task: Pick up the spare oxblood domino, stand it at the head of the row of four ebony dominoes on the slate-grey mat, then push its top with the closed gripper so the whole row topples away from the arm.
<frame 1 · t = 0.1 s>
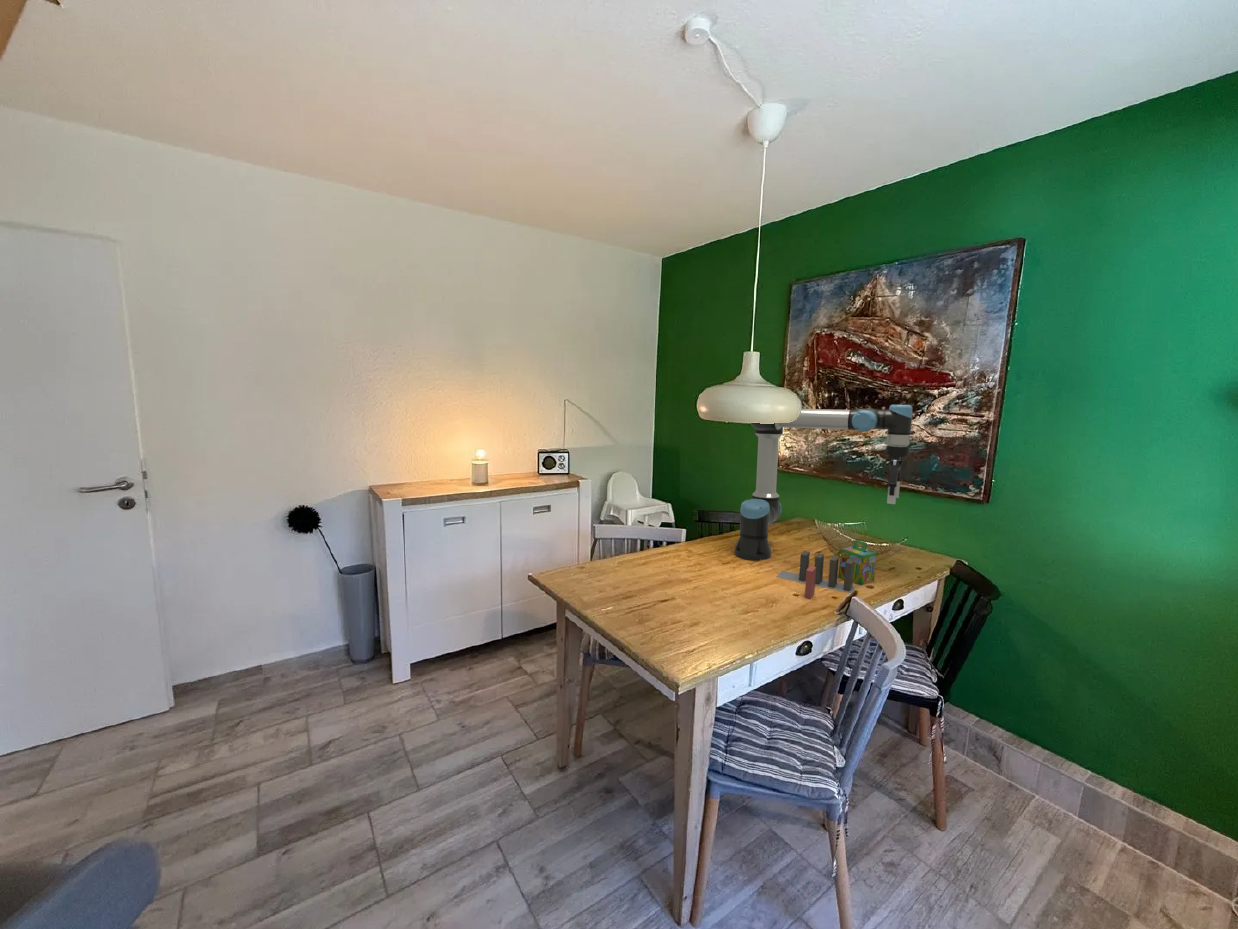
hand: (892, 500, 182), 28 cm above the table, fingers open, 13 cm apart
domino 3: (817, 582, 172), resting on mat
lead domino: (809, 596, 160), on the table
chalk box: (856, 580, 176), on the table
domino 4: (832, 585, 169), resting on mat
domino 5: (847, 588, 167), resting on mat
domino 2: (803, 578, 175), resting on mat
mat: (814, 582, 173), on the table
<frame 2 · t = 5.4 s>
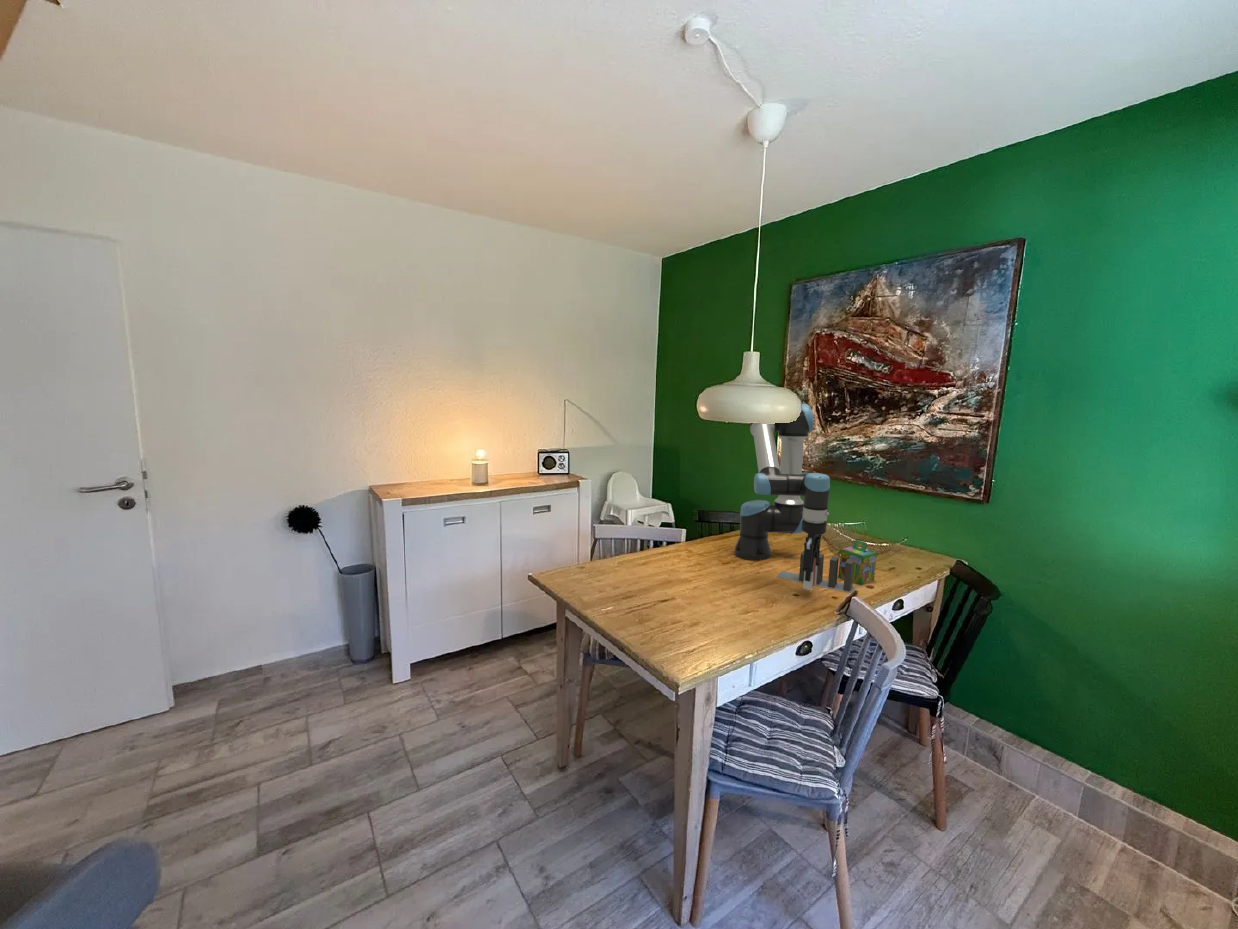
hand: (809, 586, 160), 4 cm above the table, fingers closed on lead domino, 5 cm apart
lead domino: (809, 587, 161), point 3 cm above the table, touching gripper
everything else where it was.
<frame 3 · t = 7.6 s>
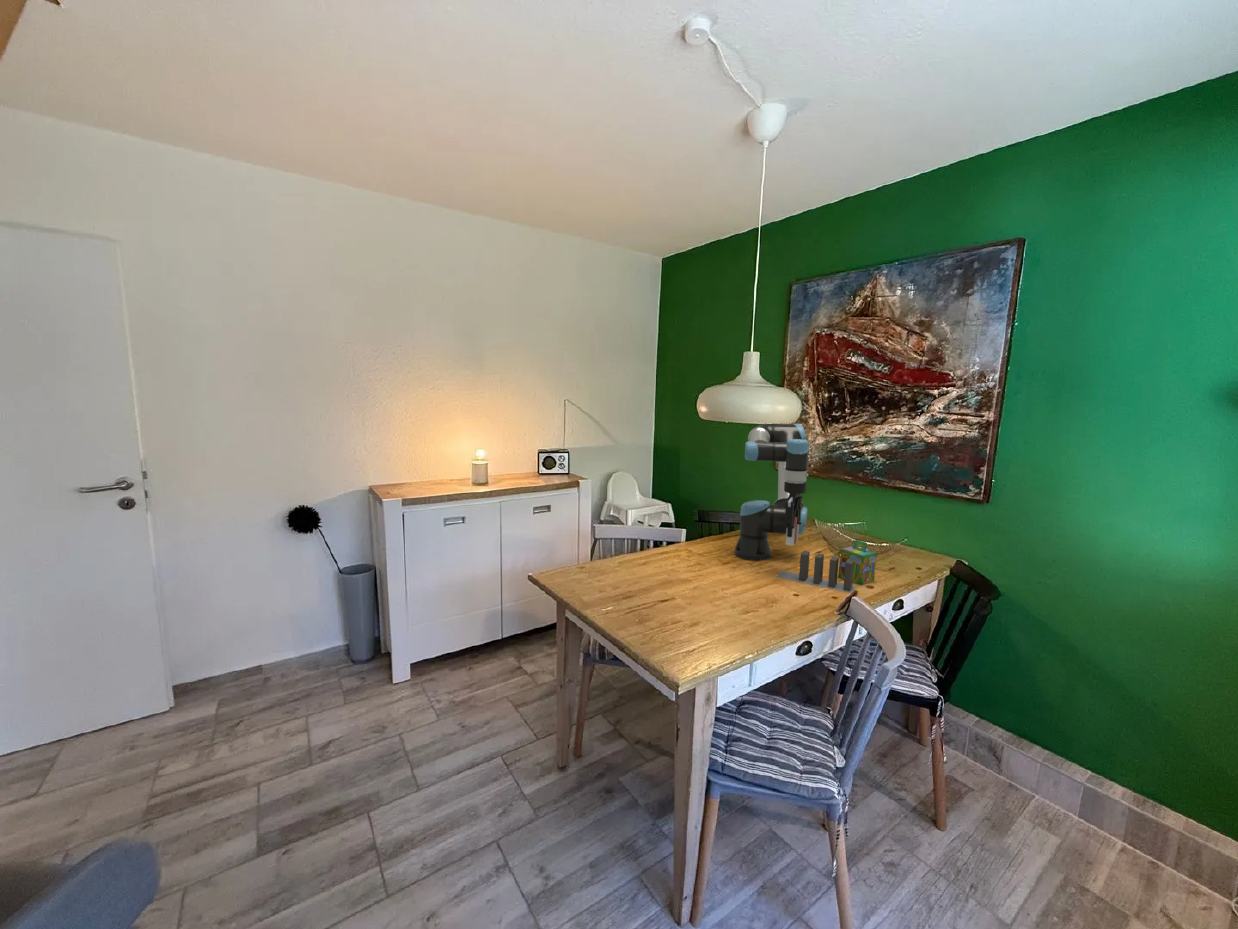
hand: (791, 543, 176), 13 cm above the table, fingers closed on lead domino, 5 cm apart
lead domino: (791, 543, 176), point 13 cm above the table, touching gripper
everything else where it was.
when the fingers open (1 cm above the table, at t = 10.0 s): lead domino stays where it is, resting on mat.
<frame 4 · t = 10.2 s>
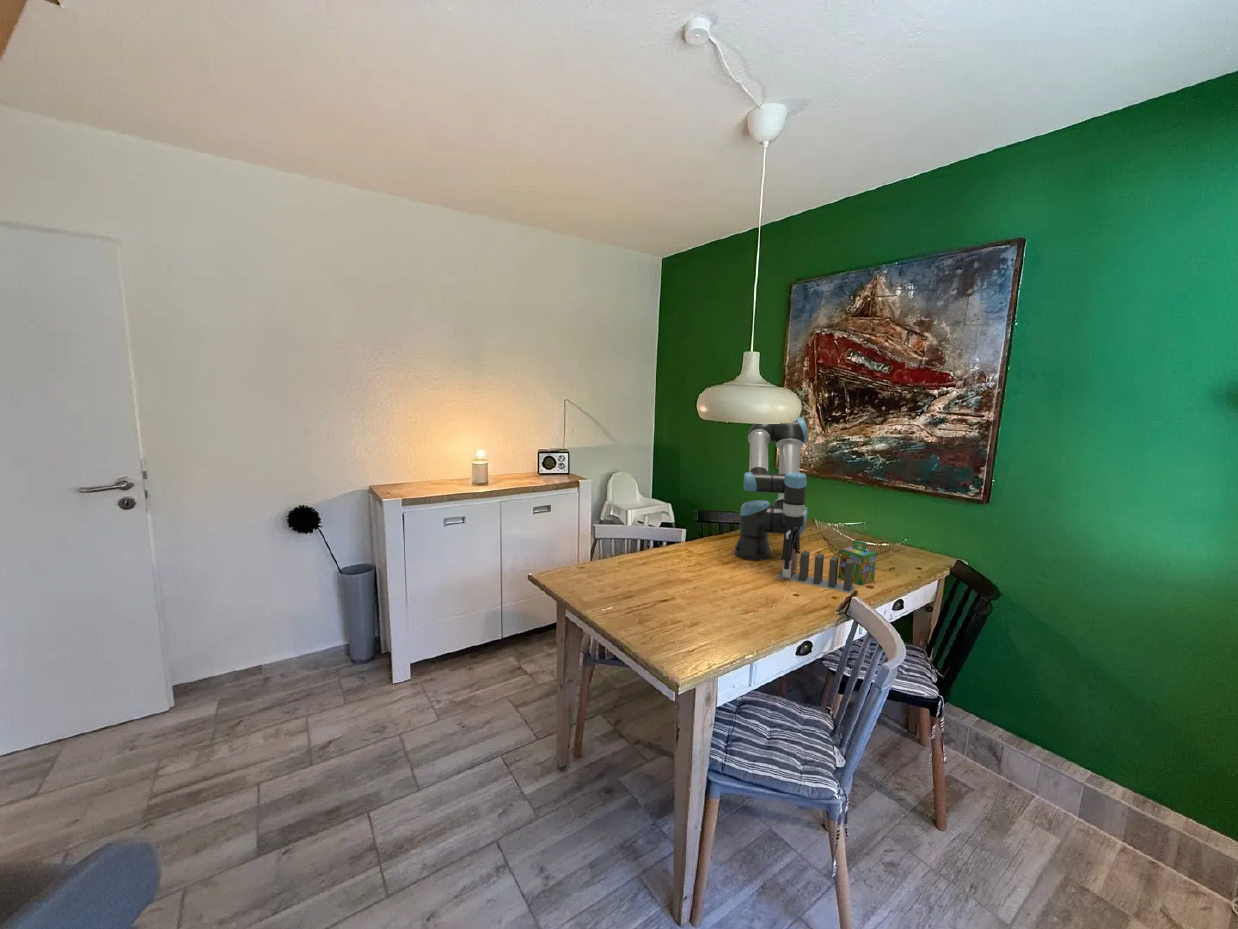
hand: (789, 573, 178), 1 cm above the table, fingers open, 8 cm apart
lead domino: (789, 575, 178), resting on mat
everything else where it was.
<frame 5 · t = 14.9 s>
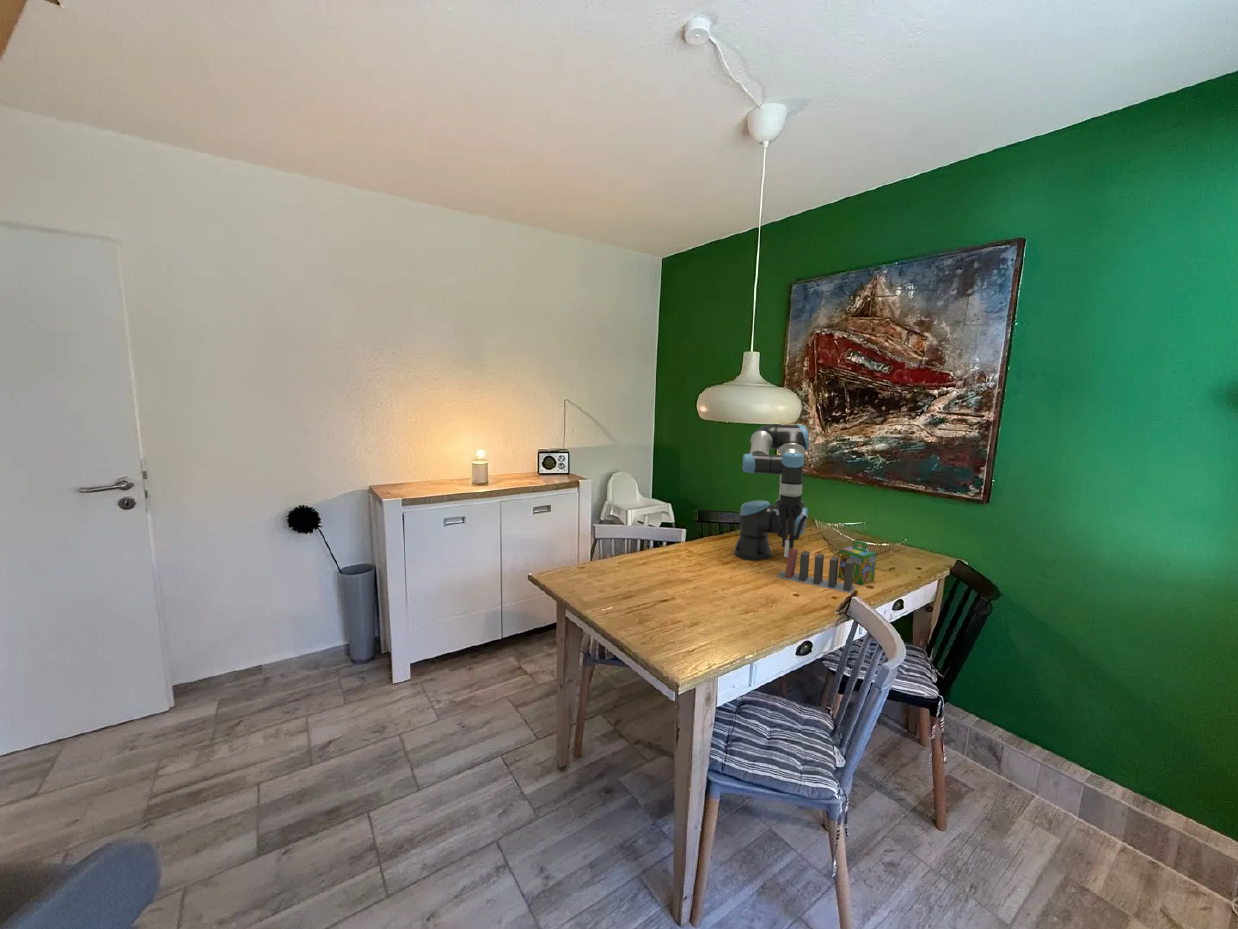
hand: (787, 556, 177), 8 cm above the table, fingers closed
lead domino: (789, 575, 178), resting on mat, tilted 5°
everything else where it was.
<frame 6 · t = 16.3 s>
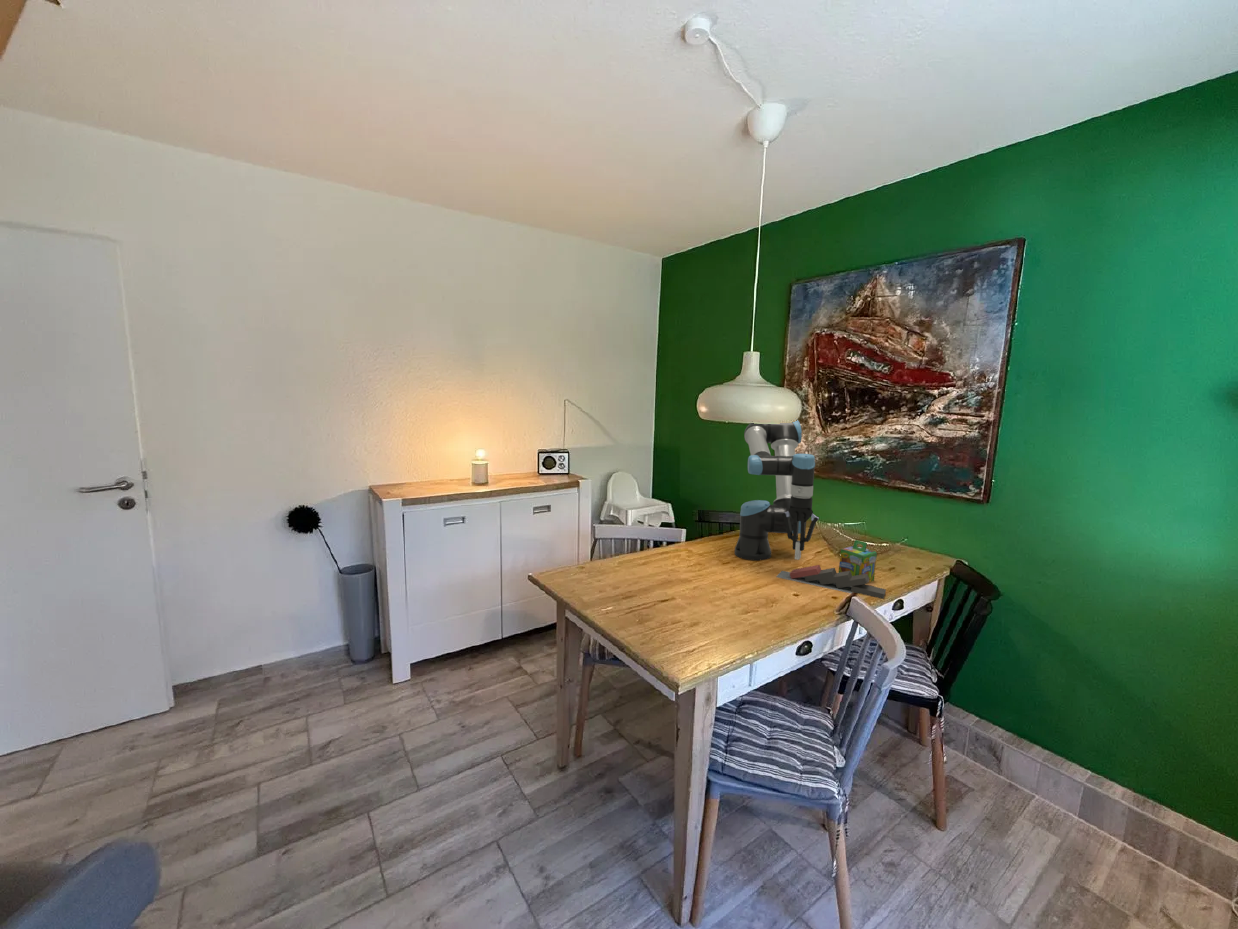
hand: (797, 558, 176), 8 cm above the table, fingers closed
domino 3: (821, 580, 172), point 1 cm above the table, tilted 67°, touching domino 2, domino 4, mat
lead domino: (792, 574, 177), point 1 cm above the table, tilted 67°, touching domino 2, mat
domino 4: (837, 583, 168), point 1 cm above the table, tilted 67°, touching domino 3, domino 5
domino 5: (852, 586, 166), point 1 cm above the table, tilted 92°, touching domino 4, mat
domino 2: (806, 577, 174), point 1 cm above the table, tilted 67°, touching domino 3, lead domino, mat
everything else where it was.
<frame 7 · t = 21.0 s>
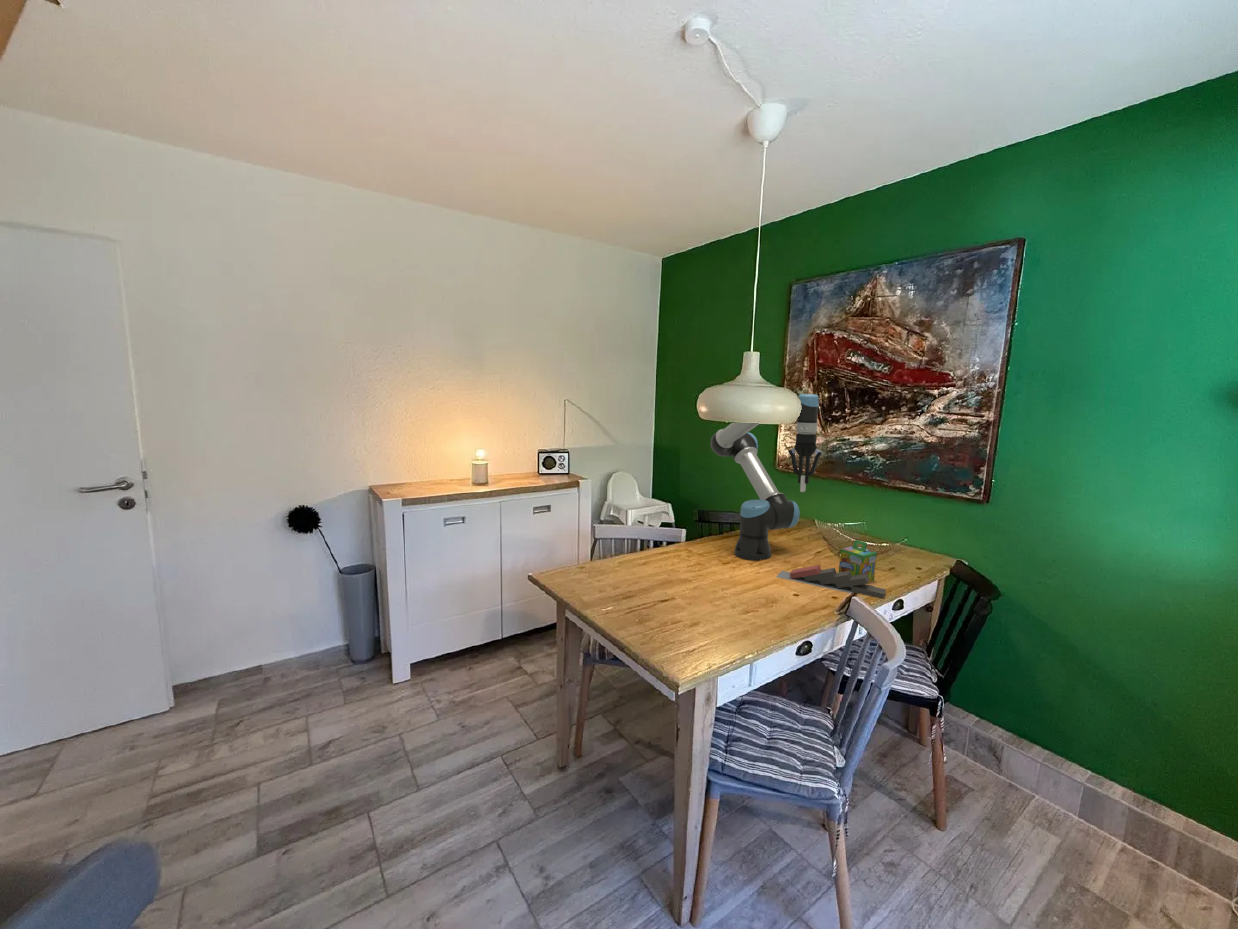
hand: (802, 491, 192), 29 cm above the table, fingers closed
nothing on the table moved.
at the end: domino 5 tilted 92°; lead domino tilted 67° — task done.
